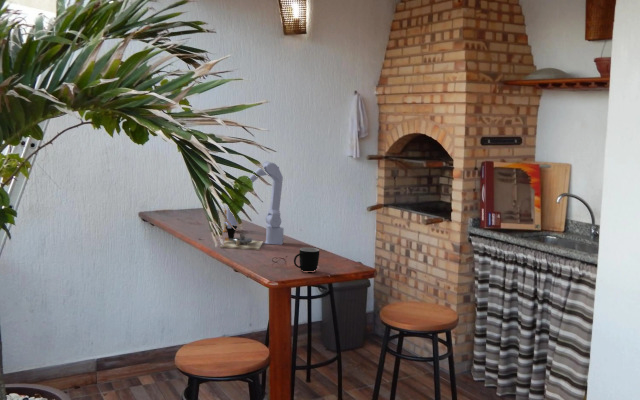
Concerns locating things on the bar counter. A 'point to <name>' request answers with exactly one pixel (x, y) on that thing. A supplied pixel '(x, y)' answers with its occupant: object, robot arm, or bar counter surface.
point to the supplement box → (223, 220)
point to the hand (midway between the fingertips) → (231, 239)
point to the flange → (239, 239)
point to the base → (242, 244)
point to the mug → (308, 259)
